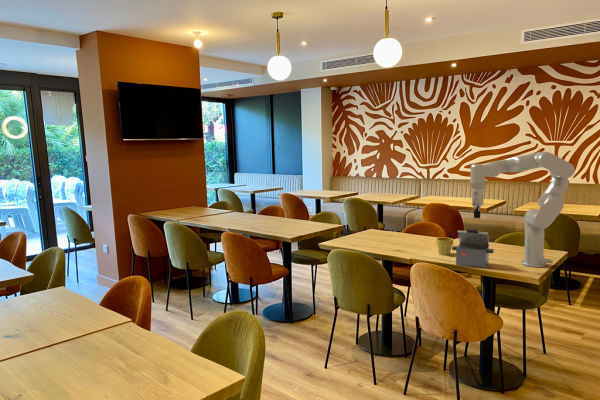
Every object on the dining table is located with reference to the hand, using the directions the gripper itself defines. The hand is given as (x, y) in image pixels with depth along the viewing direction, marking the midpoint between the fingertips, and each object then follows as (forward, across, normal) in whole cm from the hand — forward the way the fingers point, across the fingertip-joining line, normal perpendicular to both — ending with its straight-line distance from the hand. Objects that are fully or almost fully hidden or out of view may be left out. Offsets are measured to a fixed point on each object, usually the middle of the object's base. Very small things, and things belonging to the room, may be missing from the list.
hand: (477, 217), depth 248 cm
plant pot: (+27, +16, +22) cm, 38 cm away
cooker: (+27, -1, +2) cm, 27 cm away
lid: (+12, 0, +2) cm, 12 cm away
